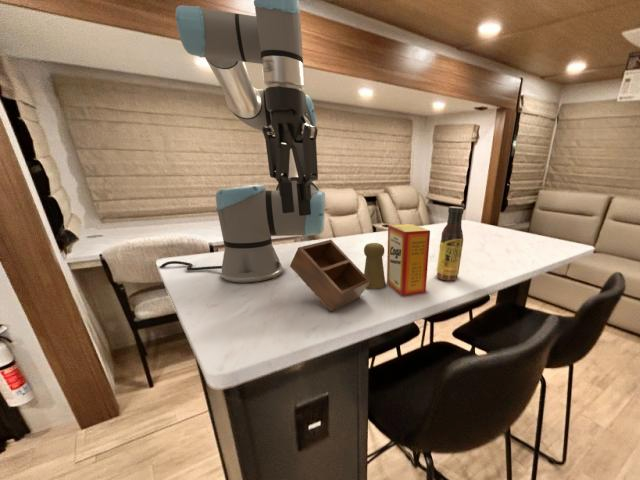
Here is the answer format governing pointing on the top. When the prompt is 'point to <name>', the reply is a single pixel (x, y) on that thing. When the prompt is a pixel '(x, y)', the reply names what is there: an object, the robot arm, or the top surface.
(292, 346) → the top surface
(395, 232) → the baking soda box
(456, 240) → the sauce bottle
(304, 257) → the walnut shelf
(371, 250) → the cork
